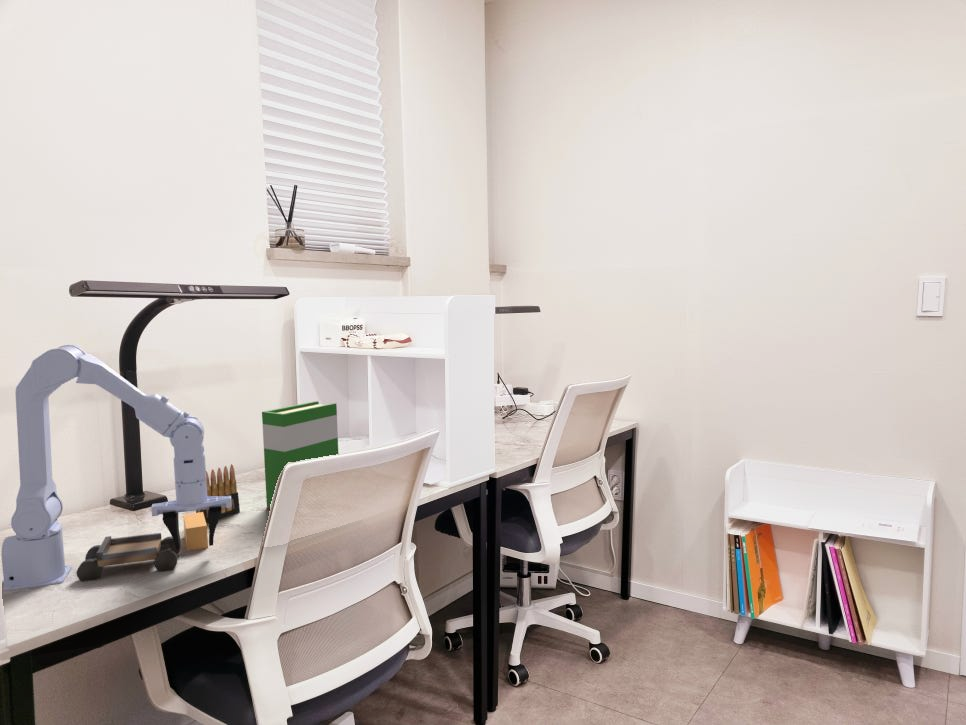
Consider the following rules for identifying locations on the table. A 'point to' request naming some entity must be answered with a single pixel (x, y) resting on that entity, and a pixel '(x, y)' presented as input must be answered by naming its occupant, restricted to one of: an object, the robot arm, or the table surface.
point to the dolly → (129, 554)
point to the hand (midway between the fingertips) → (195, 546)
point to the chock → (195, 531)
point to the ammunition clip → (223, 491)
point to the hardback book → (297, 437)
